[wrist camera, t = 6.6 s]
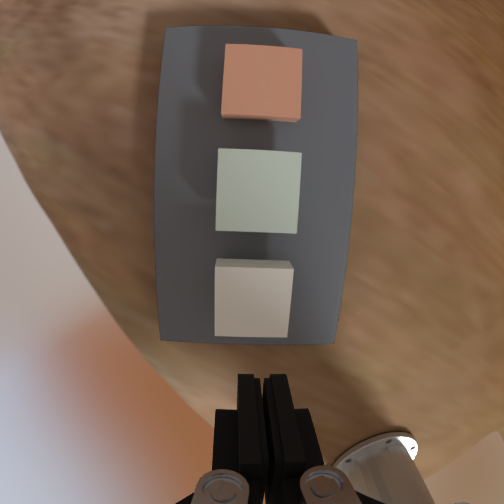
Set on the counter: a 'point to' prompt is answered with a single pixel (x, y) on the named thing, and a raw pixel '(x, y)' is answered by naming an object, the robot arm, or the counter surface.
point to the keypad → (255, 138)
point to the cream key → (252, 297)
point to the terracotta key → (262, 83)
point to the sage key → (258, 190)
